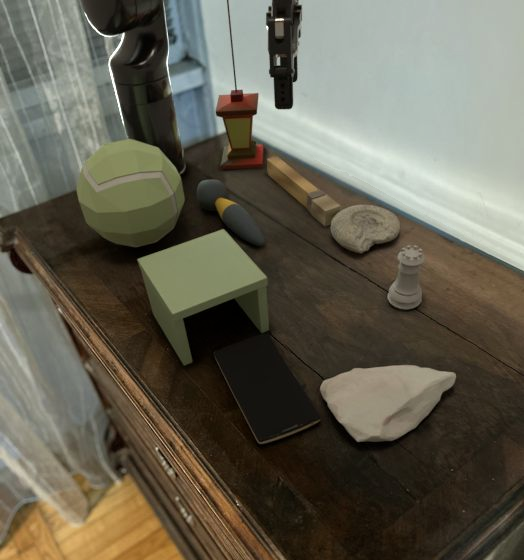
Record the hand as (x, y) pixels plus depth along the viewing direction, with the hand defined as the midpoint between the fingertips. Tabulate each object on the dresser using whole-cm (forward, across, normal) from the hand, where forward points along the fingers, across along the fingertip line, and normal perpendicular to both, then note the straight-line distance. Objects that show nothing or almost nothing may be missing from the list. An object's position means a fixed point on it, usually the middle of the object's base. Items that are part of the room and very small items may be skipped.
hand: (286, 94), depth 70 cm
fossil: (+22, 0, -11) cm, 24 cm away
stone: (+22, -32, -14) cm, 41 cm away
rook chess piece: (+22, -15, -16) cm, 31 cm away
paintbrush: (+22, +4, +10) cm, 24 cm away
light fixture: (+22, +25, +11) cm, 35 cm away
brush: (+21, +12, 0) cm, 24 cm away
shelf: (+21, -20, +9) cm, 31 cm away
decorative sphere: (+22, -1, +24) cm, 32 cm away
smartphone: (+21, -31, +1) cm, 38 cm away
